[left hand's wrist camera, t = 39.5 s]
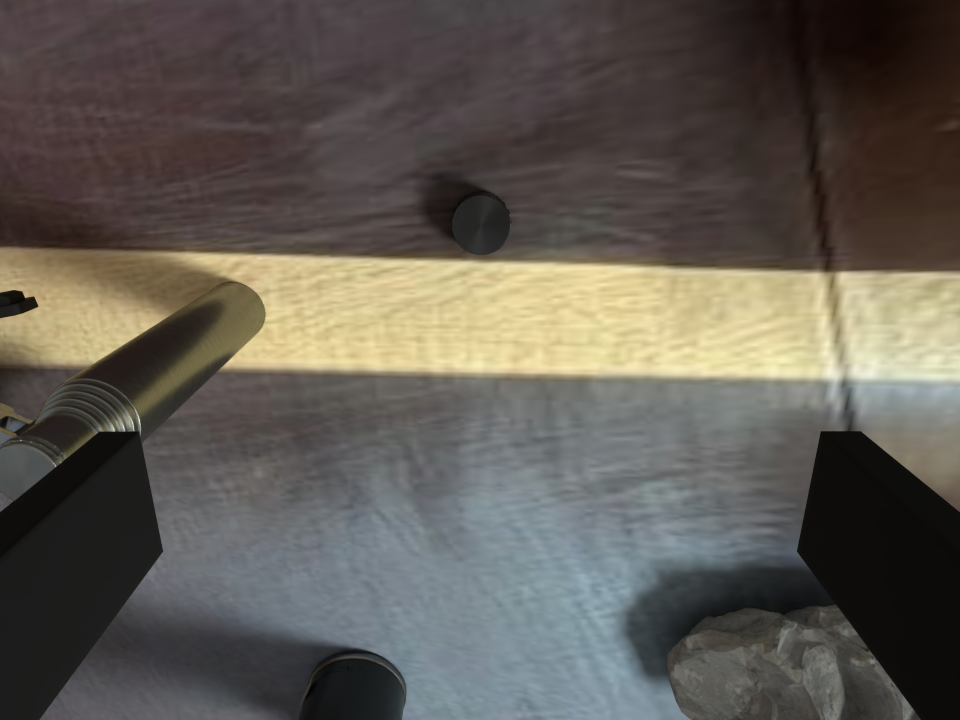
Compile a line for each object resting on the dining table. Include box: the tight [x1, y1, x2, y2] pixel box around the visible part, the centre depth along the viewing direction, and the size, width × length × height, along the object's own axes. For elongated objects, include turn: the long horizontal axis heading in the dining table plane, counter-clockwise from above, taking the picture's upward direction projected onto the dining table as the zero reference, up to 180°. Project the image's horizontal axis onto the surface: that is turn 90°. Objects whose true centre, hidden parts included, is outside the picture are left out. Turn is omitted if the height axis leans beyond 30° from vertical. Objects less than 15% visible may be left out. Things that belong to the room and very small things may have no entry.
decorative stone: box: [667, 604, 921, 720], centre depth 56 cm, size 32×15×10 cm, turn 91°
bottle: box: [0, 282, 265, 501], centre depth 39 cm, size 5×5×25 cm
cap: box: [451, 191, 511, 255], centre depth 47 cm, size 4×4×2 cm
